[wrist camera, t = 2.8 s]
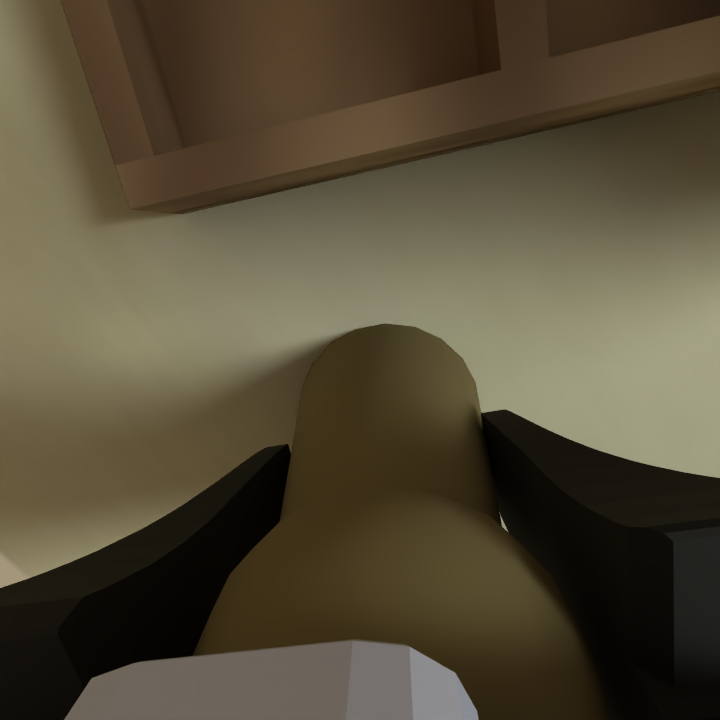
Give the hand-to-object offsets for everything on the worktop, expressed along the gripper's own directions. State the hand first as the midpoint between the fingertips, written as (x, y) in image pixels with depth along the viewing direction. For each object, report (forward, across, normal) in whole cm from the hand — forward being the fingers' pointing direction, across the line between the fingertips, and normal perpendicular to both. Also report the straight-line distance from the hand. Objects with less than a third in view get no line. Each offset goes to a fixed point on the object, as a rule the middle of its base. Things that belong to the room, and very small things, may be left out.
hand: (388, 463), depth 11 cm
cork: (+4, 0, 0) cm, 4 cm away
